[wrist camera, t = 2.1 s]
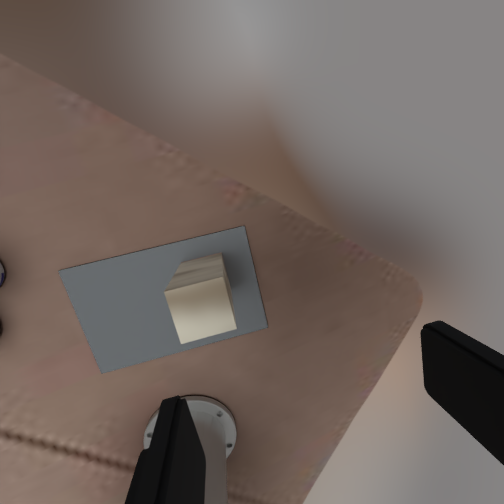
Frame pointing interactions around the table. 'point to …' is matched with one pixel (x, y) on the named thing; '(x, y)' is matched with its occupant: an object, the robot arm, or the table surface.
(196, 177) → the table surface
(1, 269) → the energy drink
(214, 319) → the birch block
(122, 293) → the rubber mat
